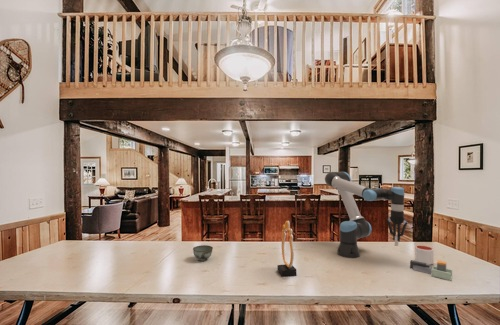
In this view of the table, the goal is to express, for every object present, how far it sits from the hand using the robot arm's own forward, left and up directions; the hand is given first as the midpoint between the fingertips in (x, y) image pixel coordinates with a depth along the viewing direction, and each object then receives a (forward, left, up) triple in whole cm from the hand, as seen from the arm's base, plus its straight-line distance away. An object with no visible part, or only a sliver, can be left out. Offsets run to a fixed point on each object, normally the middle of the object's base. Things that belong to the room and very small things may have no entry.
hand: (396, 245), depth 173 cm
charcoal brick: (+13, -2, -12) cm, 17 cm away
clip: (+14, -3, -12) cm, 19 cm away
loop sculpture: (-44, -64, -12) cm, 78 cm away
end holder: (+25, -6, -12) cm, 28 cm away
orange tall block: (+25, -6, -11) cm, 28 cm away
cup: (+14, +13, -12) cm, 22 cm away
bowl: (-101, -84, -12) cm, 131 cm away
